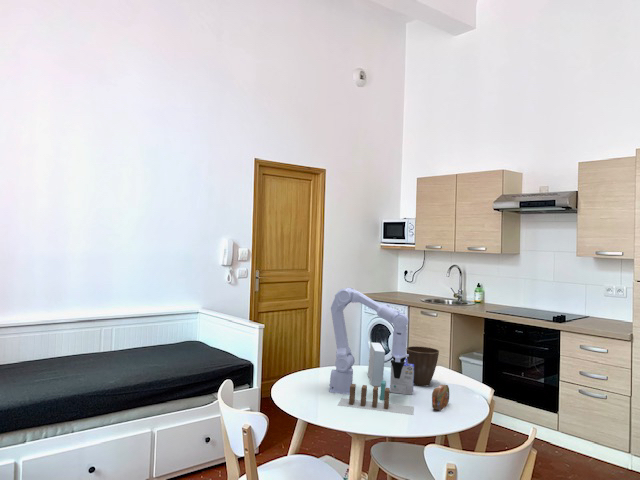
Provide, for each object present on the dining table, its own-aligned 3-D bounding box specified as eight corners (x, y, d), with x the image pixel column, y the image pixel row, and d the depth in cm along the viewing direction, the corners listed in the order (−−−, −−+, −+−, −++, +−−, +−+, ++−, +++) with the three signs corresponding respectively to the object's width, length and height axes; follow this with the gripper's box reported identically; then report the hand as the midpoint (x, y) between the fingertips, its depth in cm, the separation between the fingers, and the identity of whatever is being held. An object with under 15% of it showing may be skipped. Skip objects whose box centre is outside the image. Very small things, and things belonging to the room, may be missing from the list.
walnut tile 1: (349, 404, 192) (349, 386, 192) (350, 401, 196) (351, 383, 196) (353, 405, 192) (354, 387, 192) (354, 401, 196) (355, 384, 196)
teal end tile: (380, 400, 200) (380, 383, 200) (381, 397, 205) (381, 380, 205) (383, 400, 200) (384, 383, 200) (384, 397, 204) (385, 380, 204)
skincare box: (383, 387, 220) (385, 351, 221) (371, 386, 220) (373, 350, 221) (378, 374, 241) (380, 342, 242) (367, 374, 242) (369, 341, 242)
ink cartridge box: (413, 391, 215) (414, 358, 215) (412, 395, 210) (414, 361, 210) (390, 389, 217) (392, 356, 217) (389, 392, 212) (391, 359, 212)
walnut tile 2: (360, 405, 191) (361, 387, 191) (362, 402, 195) (362, 384, 195) (364, 406, 191) (365, 388, 191) (366, 403, 195) (366, 385, 195)
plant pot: (399, 379, 234) (401, 346, 234) (428, 379, 237) (430, 346, 237) (412, 389, 219) (414, 353, 219) (443, 388, 223) (445, 353, 223)
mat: (337, 406, 190) (337, 405, 190) (341, 398, 200) (341, 397, 200) (413, 415, 184) (413, 414, 184) (414, 407, 194) (414, 406, 194)
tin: (437, 413, 188) (438, 391, 188) (429, 411, 190) (430, 389, 190) (449, 403, 201) (450, 383, 201) (442, 402, 203) (443, 381, 203)
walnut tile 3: (372, 407, 190) (372, 389, 190) (373, 403, 194) (374, 386, 194) (376, 407, 190) (377, 389, 190) (377, 404, 194) (378, 386, 194)
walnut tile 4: (383, 408, 189) (384, 390, 189) (384, 405, 193) (385, 387, 193) (387, 409, 189) (388, 391, 189) (388, 405, 193) (389, 387, 193)
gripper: (408, 347, 195) (406, 381, 195) (409, 340, 210) (408, 372, 209) (390, 345, 197) (388, 379, 197) (393, 339, 211) (391, 370, 211)
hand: (397, 375), depth 203 cm, fingers open, 7 cm apart
